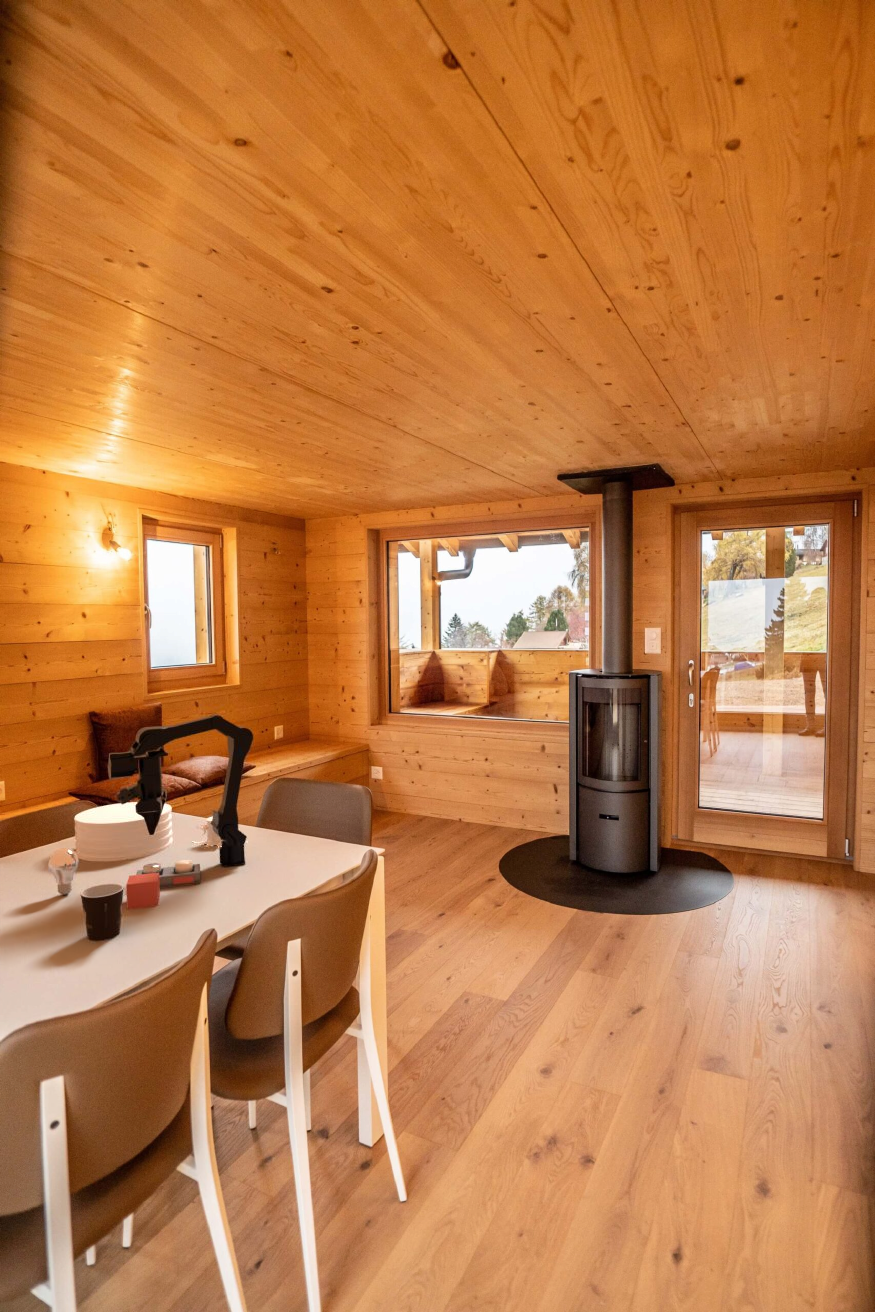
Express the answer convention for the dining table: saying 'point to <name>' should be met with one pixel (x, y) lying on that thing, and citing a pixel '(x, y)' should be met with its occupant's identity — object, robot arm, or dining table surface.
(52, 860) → the light bulb
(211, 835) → the tree stump
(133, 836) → the plate stack
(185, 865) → the cream switch
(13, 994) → the dining table surface
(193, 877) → the switch box
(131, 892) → the cap
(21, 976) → the dining table surface
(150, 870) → the chrome round knob
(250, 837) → the dining table surface
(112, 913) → the coffee mug
